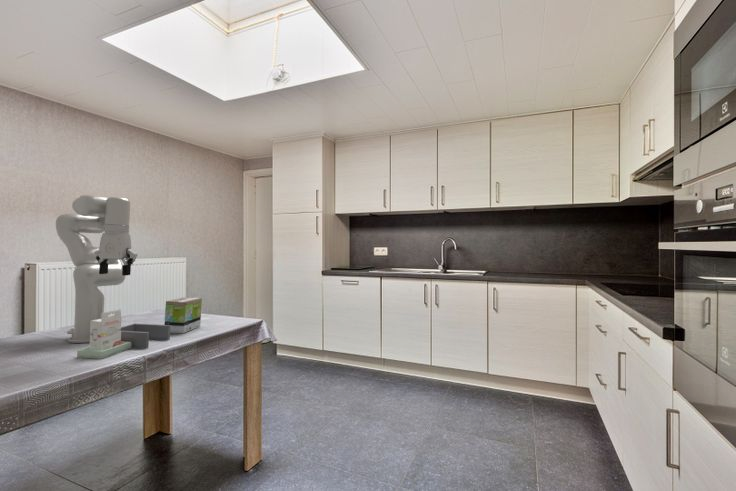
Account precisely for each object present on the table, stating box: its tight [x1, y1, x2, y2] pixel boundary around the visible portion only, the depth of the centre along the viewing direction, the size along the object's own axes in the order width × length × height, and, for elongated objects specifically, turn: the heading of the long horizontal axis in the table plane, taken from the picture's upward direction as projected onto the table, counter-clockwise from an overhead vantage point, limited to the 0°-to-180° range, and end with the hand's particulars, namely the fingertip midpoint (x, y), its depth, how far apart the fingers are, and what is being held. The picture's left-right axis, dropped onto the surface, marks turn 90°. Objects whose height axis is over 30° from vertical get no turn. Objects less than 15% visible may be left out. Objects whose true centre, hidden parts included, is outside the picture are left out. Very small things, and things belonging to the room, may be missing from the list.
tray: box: [76, 341, 132, 360], centre depth 127 cm, size 10×13×2 cm
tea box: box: [163, 296, 203, 334], centre depth 165 cm, size 15×10×15 cm
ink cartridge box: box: [89, 309, 122, 351], centre depth 127 cm, size 9×5×15 cm, turn 171°
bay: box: [121, 323, 171, 349], centre depth 141 cm, size 16×14×6 cm
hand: (114, 274), depth 131 cm, fingers open, 9 cm apart
